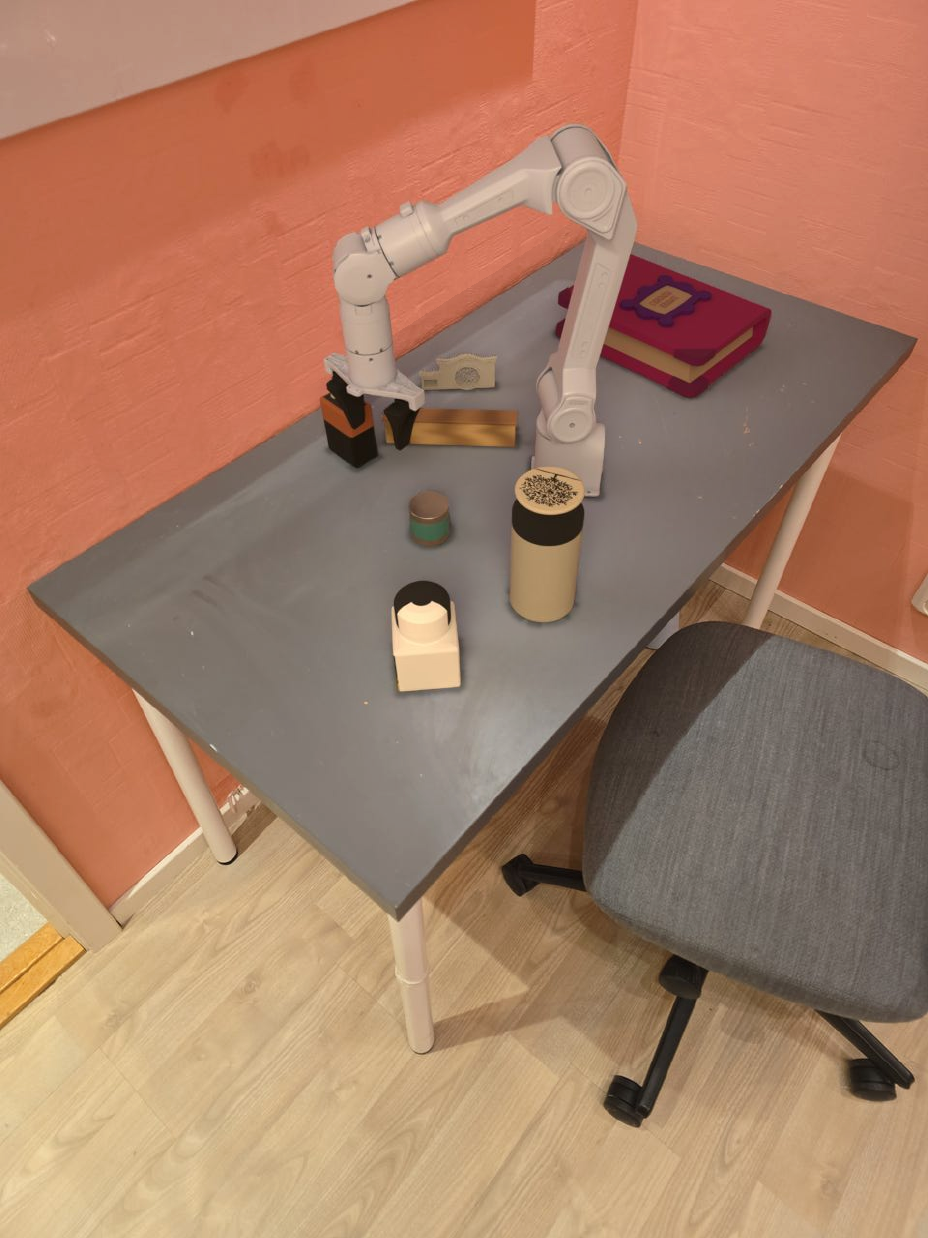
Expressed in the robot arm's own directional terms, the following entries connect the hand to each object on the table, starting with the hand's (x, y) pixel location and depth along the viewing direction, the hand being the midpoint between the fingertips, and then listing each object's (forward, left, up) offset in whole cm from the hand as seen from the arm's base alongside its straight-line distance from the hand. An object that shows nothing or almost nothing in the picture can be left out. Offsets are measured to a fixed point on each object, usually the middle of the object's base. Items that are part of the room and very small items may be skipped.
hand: (380, 435), depth 109 cm
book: (-40, -40, -10) cm, 58 cm away
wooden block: (-8, -12, -10) cm, 18 cm away
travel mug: (-22, +19, -10) cm, 30 cm away
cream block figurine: (-9, +30, -10) cm, 32 cm away
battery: (+6, -8, -10) cm, 15 cm away
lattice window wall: (-8, -25, -10) cm, 29 cm away
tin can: (-7, +8, -10) cm, 14 cm away
